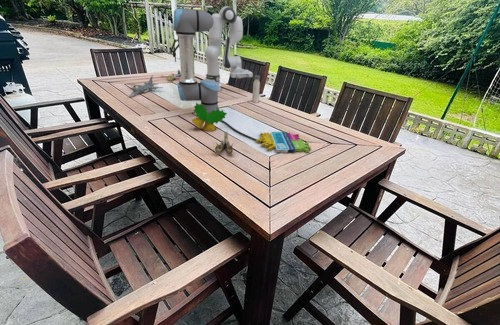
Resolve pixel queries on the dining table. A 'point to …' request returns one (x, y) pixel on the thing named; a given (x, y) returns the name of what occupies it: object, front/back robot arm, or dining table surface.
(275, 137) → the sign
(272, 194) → the dining table surface
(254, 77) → the cap
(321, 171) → the dining table surface
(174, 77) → the toy
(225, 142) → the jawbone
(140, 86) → the airplane
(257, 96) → the bottle
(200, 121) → the ornament
